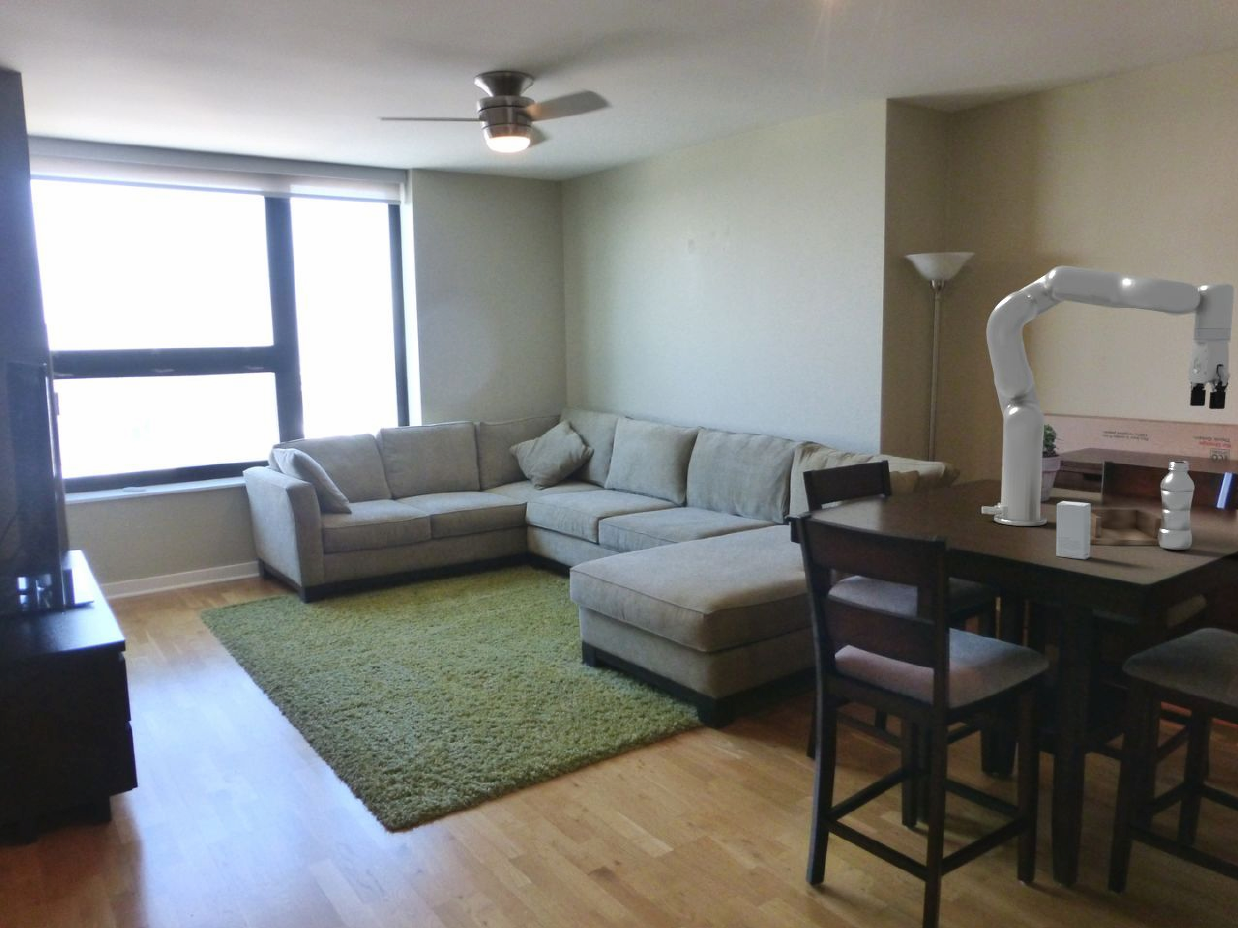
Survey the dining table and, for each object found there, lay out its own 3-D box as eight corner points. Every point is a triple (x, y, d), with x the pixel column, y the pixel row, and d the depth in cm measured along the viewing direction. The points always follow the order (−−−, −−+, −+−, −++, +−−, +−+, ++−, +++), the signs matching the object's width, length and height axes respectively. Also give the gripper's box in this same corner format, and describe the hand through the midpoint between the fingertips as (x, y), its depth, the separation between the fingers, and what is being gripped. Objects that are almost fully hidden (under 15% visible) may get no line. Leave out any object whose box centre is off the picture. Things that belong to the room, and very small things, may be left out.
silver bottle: (1196, 553, 204) (1201, 464, 202) (1162, 552, 206) (1168, 464, 203) (1184, 546, 211) (1190, 460, 208) (1152, 546, 212) (1157, 460, 209)
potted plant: (1042, 507, 262) (1045, 420, 259) (985, 497, 279) (988, 415, 276) (1082, 500, 271) (1086, 416, 268) (1025, 492, 288) (1028, 412, 285)
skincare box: (1090, 556, 203) (1093, 502, 202) (1084, 560, 200) (1086, 505, 199) (1061, 552, 208) (1063, 500, 206) (1054, 556, 204) (1056, 502, 203)
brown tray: (1087, 544, 215) (1088, 519, 214) (1067, 530, 231) (1068, 506, 230) (1171, 545, 212) (1173, 520, 211) (1145, 531, 228) (1146, 507, 227)
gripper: (1178, 336, 229) (1174, 404, 232) (1212, 336, 213) (1207, 410, 215) (1211, 336, 228) (1206, 404, 231) (1247, 335, 211) (1242, 410, 214)
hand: (1206, 407), depth 223 cm, fingers open, 9 cm apart
